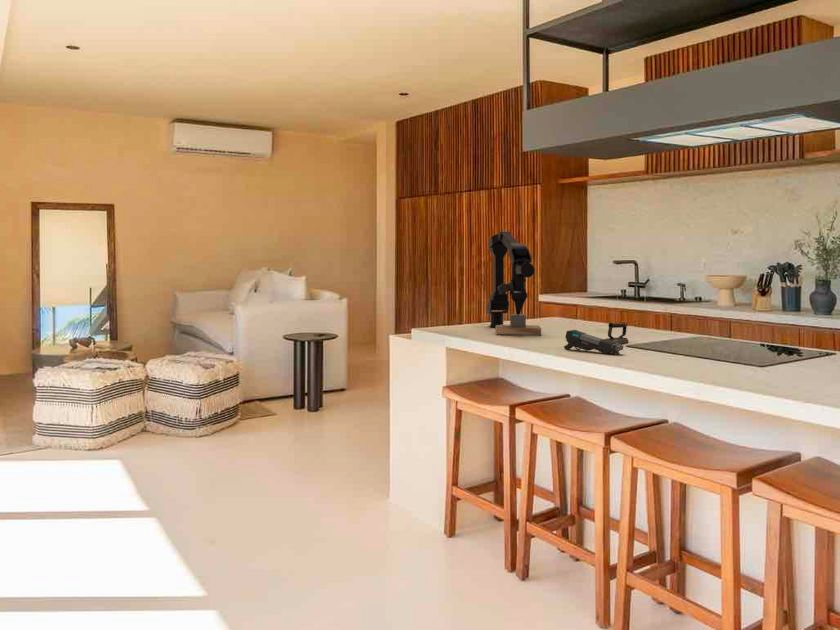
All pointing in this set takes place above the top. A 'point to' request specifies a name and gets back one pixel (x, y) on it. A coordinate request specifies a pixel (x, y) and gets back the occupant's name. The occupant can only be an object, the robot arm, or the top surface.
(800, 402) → the top surface
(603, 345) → the gun
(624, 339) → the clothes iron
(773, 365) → the top surface
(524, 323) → the dark grey block
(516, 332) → the socket box
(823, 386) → the top surface
